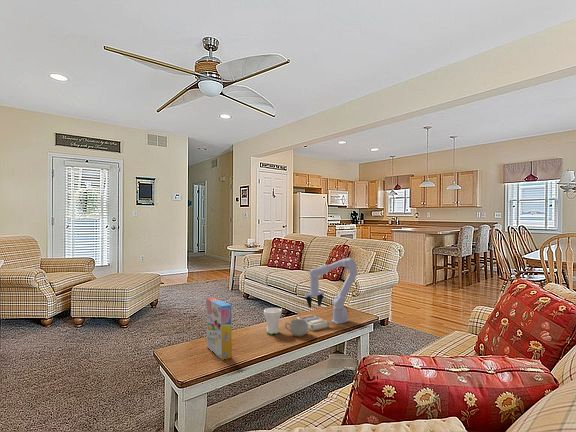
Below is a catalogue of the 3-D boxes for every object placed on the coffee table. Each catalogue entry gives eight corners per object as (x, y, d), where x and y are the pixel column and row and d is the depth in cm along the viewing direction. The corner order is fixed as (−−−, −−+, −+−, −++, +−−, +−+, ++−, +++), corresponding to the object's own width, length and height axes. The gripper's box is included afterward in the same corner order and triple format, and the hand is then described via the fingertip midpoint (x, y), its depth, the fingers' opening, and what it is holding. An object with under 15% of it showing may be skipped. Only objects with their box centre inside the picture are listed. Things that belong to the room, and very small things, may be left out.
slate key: (316, 320, 223) (316, 316, 223) (319, 321, 220) (319, 317, 220) (304, 322, 218) (304, 318, 218) (307, 323, 215) (307, 320, 215)
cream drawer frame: (311, 319, 231) (311, 314, 231) (328, 327, 214) (328, 322, 214) (295, 322, 224) (295, 317, 224) (312, 331, 207) (312, 325, 207)
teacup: (308, 331, 206) (308, 319, 206) (307, 338, 195) (307, 324, 195) (286, 331, 207) (285, 318, 207) (284, 337, 197) (284, 324, 197)
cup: (273, 328, 212) (273, 306, 212) (285, 332, 205) (285, 310, 204) (260, 333, 205) (259, 310, 205) (272, 337, 197) (271, 313, 197)
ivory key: (321, 322, 218) (321, 318, 218) (324, 323, 215) (324, 320, 215) (309, 324, 213) (309, 321, 213) (312, 326, 210) (312, 322, 210)
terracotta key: (311, 317, 228) (311, 314, 228) (314, 319, 225) (314, 315, 225) (299, 319, 223) (299, 316, 223) (302, 321, 220) (302, 317, 220)
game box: (232, 358, 169) (231, 304, 169) (222, 360, 166) (221, 306, 166) (215, 345, 186) (215, 296, 186) (206, 347, 183) (205, 298, 183)
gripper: (319, 284, 232) (319, 303, 232) (302, 286, 225) (302, 306, 225) (325, 286, 226) (325, 306, 226) (307, 288, 219) (308, 309, 219)
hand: (314, 306), depth 225 cm, fingers open, 7 cm apart
